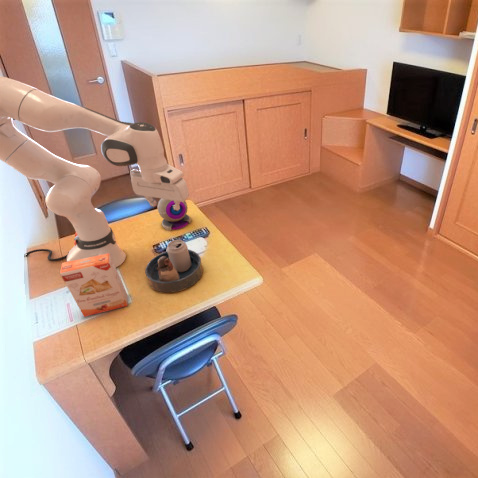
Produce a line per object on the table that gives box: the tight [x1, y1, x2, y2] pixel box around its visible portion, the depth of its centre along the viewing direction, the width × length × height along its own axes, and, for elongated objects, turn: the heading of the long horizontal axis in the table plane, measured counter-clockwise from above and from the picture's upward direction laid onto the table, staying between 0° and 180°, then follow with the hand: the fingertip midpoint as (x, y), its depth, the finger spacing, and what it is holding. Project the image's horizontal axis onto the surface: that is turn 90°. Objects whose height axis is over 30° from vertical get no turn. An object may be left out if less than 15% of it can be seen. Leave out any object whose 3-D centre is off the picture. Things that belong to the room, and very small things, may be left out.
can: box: [166, 239, 192, 272], centre depth 140 cm, size 8×8×12 cm
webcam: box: [157, 198, 192, 231], centre depth 166 cm, size 13×13×15 cm
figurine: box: [157, 256, 180, 282], centre depth 133 cm, size 7×7×12 cm
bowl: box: [144, 249, 204, 294], centre depth 138 cm, size 20×20×6 cm
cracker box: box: [59, 253, 129, 318], centre depth 120 cm, size 14×6×21 cm, turn 114°
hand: (165, 207), depth 126 cm, fingers open, 8 cm apart
